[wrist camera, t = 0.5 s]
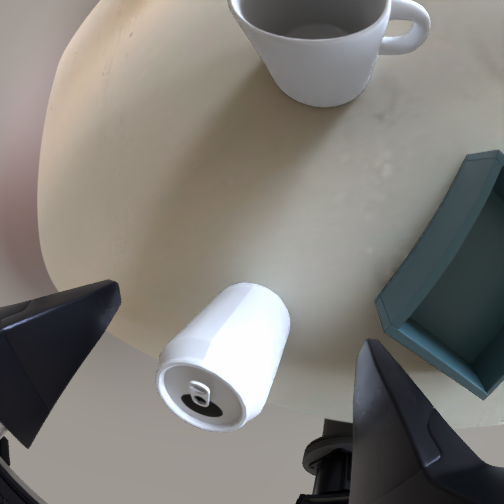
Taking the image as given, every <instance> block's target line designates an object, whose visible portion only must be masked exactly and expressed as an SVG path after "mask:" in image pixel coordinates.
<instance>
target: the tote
mask: <svg viewBox="0 0 504 504" xmlns="http://www.w3.org/2000/svg"><path fill="white" fill-rule="evenodd" d="M375 304H376V307H377V310H378V314H379V317H380V320H381V323H382V327H383V330H384V333H386V334H387V335H389V336H390V337H392V338H393V339H395V340H396V341H398V342H399V343H401V344H402V345H403V346H405V347H406V348H408V349H409V350H411V351H412V352H414V353H415V354H417V355H418V356H420V357H421V358H423V359H424V360H425V361H427V362H428V363H430V364H431V365H433V366H434V367H436V368H437V369H439V370H440V371H441V372H443V373H444V374H446V375H447V376H449V377H450V378H452V379H453V380H455V381H456V382H457V383H459V384H460V385H462V386H463V387H465V388H466V389H468V390H469V391H470V392H472V393H473V394H475V395H476V396H478V397H479V398H481V399H482V400H485V399H486V398H487V397H488V396H489V395H490V394H491V393H492V392H493V391H494V390H495V389H496V388H497V387H498V385H499V384H500V383H501V382H502V381H503V380H504V154H503V153H502V152H501V151H500V150H493V151H487V152H481V153H475V154H470V155H467V156H466V158H465V160H464V162H463V164H462V166H461V168H460V170H459V172H458V174H457V176H456V178H455V180H454V182H453V184H452V186H451V187H450V189H449V191H448V193H447V195H446V196H445V198H444V200H443V202H442V203H441V205H440V207H439V209H438V210H437V212H436V214H435V215H434V217H433V218H432V220H431V222H430V223H429V225H428V227H427V228H426V230H425V231H424V233H423V234H422V236H421V237H420V239H419V240H418V242H417V243H416V245H415V246H414V248H413V249H412V251H411V252H410V254H409V255H408V257H407V258H406V259H405V261H404V262H403V264H402V265H401V266H400V268H399V269H398V271H397V272H396V273H395V275H394V276H393V277H392V279H391V280H390V281H389V283H388V284H387V285H386V287H385V288H384V289H383V290H382V292H381V293H380V294H379V296H378V297H377V298H376V299H375Z"/></svg>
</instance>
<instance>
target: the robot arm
mask: <svg viewBox="0 0 504 504" xmlns="http://www.w3.org/2000/svg"><path fill="white" fill-rule="evenodd" d="M120 305H121V295H120V289H119V284H118V283H117V282H116V281H113V280H104V281H100V282H96V283H93V284H89V285H85V286H81V287H78V288H74V289H70V290H66V291H63V292H59V293H55V294H51V295H48V296H44V297H40V298H36V299H33V300H29V301H25V302H21V303H18V304H14V305H9V306H4V307H0V504H47V503H46V502H45V501H44V500H43V499H42V498H40V497H39V496H38V495H37V494H36V493H35V492H34V491H33V490H31V489H30V488H29V487H28V486H27V485H26V484H25V483H24V482H23V481H22V480H21V479H20V478H19V477H18V476H17V475H16V474H15V473H14V471H12V469H11V468H10V467H9V466H10V458H9V445H8V440H7V439H6V437H5V436H4V435H5V434H6V432H7V431H8V430H9V431H10V432H11V433H12V434H13V435H14V436H15V437H16V438H17V439H18V440H19V441H20V442H21V443H22V444H23V445H24V446H25V447H26V448H27V449H29V447H30V446H31V444H32V442H33V441H34V439H35V437H36V435H37V434H38V432H39V430H40V428H41V427H42V425H43V423H44V422H45V420H46V418H47V417H48V415H49V414H50V411H51V410H52V408H53V407H54V405H55V403H56V402H57V400H58V399H59V397H60V395H61V394H62V393H63V391H64V390H65V388H66V387H67V385H68V384H69V382H70V380H71V379H72V377H73V376H74V375H75V373H76V372H77V370H78V369H79V367H80V366H81V364H82V363H83V362H84V360H85V359H86V357H87V356H88V354H89V353H90V352H91V350H92V349H93V347H94V346H95V345H96V343H97V342H98V340H99V339H100V338H101V336H102V335H103V333H104V332H105V330H106V328H107V327H108V325H109V323H110V322H111V320H112V318H113V317H114V315H115V313H116V312H117V310H118V309H119V307H120ZM308 468H310V469H312V470H315V471H317V472H316V478H315V483H314V488H313V493H312V495H305V494H300V496H299V498H298V499H297V501H296V504H504V468H502V467H495V466H492V465H489V464H486V463H485V462H484V461H482V460H481V459H480V458H479V457H478V456H477V455H476V454H475V453H474V452H473V451H472V450H471V449H470V448H469V447H468V446H467V444H466V443H465V442H463V440H462V439H461V438H460V437H459V436H458V435H457V434H456V433H455V432H454V430H453V429H452V428H451V427H450V426H449V425H448V424H447V422H446V421H445V420H444V419H443V417H442V416H441V415H440V414H439V413H438V411H437V410H436V409H435V408H433V405H432V404H431V403H430V401H429V400H428V399H427V398H426V396H425V395H424V394H423V393H422V391H421V390H420V389H419V388H418V387H417V385H416V384H415V383H414V382H413V380H412V379H411V378H410V377H409V376H408V374H407V373H406V372H405V371H404V370H403V368H402V367H401V366H400V365H399V364H398V363H397V361H396V360H395V359H394V358H393V357H392V355H391V354H390V353H389V352H388V351H387V350H386V348H385V347H384V346H383V345H382V344H381V343H380V341H379V340H377V339H369V338H367V339H366V340H365V341H364V343H363V346H362V348H361V350H360V352H359V354H358V357H357V361H356V372H355V384H354V395H353V449H352V452H351V451H348V450H346V449H343V448H337V449H335V450H334V451H332V452H330V453H329V454H327V455H325V456H323V457H322V458H320V459H318V460H316V461H314V462H312V463H311V464H309V466H308Z"/></svg>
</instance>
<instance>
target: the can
mask: <svg viewBox="0 0 504 504" xmlns="http://www.w3.org/2000/svg"><path fill="white" fill-rule="evenodd" d="M289 332H290V317H289V314H288V311H287V308H286V306H285V305H284V303H283V302H282V301H281V299H280V298H279V297H278V296H277V295H276V294H274V293H273V292H272V291H270V290H269V289H267V288H265V287H262V286H260V285H257V284H252V283H239V284H235V285H230V286H229V287H227V288H226V289H224V290H223V291H221V292H220V293H219V294H218V295H217V296H216V297H215V298H214V299H213V300H212V301H211V302H210V303H209V304H208V305H207V306H206V307H205V308H204V309H203V310H202V311H201V312H200V313H199V314H198V315H197V316H196V317H195V318H194V319H193V320H192V321H190V322H189V323H188V324H187V325H186V326H185V327H184V328H183V329H182V330H181V331H180V332H179V333H178V334H177V335H176V336H175V337H174V338H173V339H172V340H171V341H170V342H169V343H168V344H167V345H166V346H165V348H164V349H163V351H162V352H161V354H160V357H159V366H158V367H159V369H158V370H157V372H156V378H155V383H156V386H157V390H158V393H159V395H160V397H161V398H162V400H163V401H164V403H165V404H166V405H167V407H168V408H169V409H170V410H171V411H172V412H173V413H174V414H176V415H177V416H178V417H180V418H181V419H182V420H184V421H185V422H187V423H189V424H191V425H193V426H195V427H197V428H200V429H203V430H207V431H211V432H223V433H224V432H230V431H234V430H237V429H239V428H240V427H242V426H243V425H245V423H246V421H249V420H251V419H252V418H254V417H255V416H257V415H258V414H259V413H260V412H261V410H262V408H263V406H264V404H265V402H266V400H267V397H268V394H269V391H270V388H271V386H272V383H273V380H274V377H275V374H276V371H277V368H278V365H279V362H280V359H281V356H282V353H283V350H284V347H285V344H286V341H287V338H288V335H289Z"/></svg>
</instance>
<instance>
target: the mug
mask: <svg viewBox="0 0 504 504" xmlns="http://www.w3.org/2000/svg"><path fill="white" fill-rule="evenodd" d="M228 5H229V8H230V11H231V13H232V15H233V17H234V18H235V20H236V21H237V23H238V24H239V25H240V27H241V28H242V30H243V31H244V33H245V34H246V36H247V37H248V39H249V40H250V42H251V43H252V45H253V46H254V48H255V49H256V51H257V52H258V54H259V55H260V57H261V58H262V60H263V62H264V63H265V65H266V67H267V68H268V70H269V72H270V74H271V76H272V78H273V79H274V81H275V83H276V84H277V85H278V86H279V88H280V89H281V90H282V91H283V92H284V93H285V94H287V95H288V96H289V97H291V98H293V99H294V100H296V101H298V102H301V103H303V104H306V105H310V106H315V107H334V106H339V105H342V104H345V103H348V102H349V101H351V100H353V99H355V98H356V97H357V96H359V95H360V94H361V93H362V92H363V90H364V89H365V88H366V86H367V84H368V82H369V80H370V77H371V74H372V70H373V67H374V64H375V62H376V58H377V55H401V54H407V53H410V52H412V51H414V50H416V49H417V48H418V47H419V46H420V45H421V44H422V43H423V42H424V41H425V40H426V38H427V36H428V34H429V31H430V19H429V15H428V13H427V11H426V10H425V9H424V8H423V7H422V6H421V5H419V4H418V3H416V2H413V1H411V0H228ZM389 20H408V21H412V22H414V24H413V26H412V28H411V29H410V30H409V32H407V33H406V34H405V35H403V36H400V37H384V34H385V31H386V28H387V24H388V21H389Z"/></svg>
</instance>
